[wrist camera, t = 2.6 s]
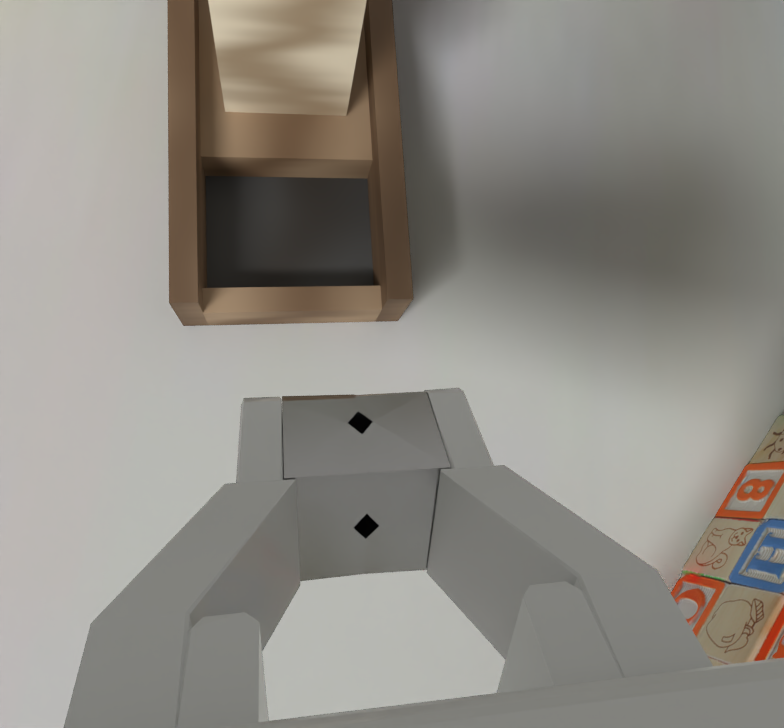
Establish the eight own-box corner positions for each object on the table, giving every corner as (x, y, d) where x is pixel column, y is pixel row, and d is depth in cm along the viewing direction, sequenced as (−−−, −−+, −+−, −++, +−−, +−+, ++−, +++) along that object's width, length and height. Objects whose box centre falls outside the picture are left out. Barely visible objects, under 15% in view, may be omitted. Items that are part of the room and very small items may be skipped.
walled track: (183, 325, 27) (169, 302, 23) (179, -191, 31) (166, -274, 28) (397, 320, 28) (413, 298, 25) (364, -171, 33) (374, -247, 29)
